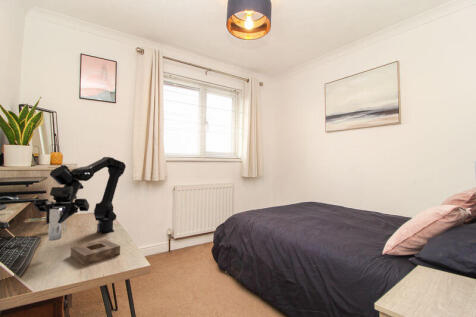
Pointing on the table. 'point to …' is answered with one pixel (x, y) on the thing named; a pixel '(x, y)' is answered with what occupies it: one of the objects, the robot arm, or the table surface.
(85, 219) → the table surface
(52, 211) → the translucent grey tall block
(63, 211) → the lollipop
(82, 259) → the socket block
